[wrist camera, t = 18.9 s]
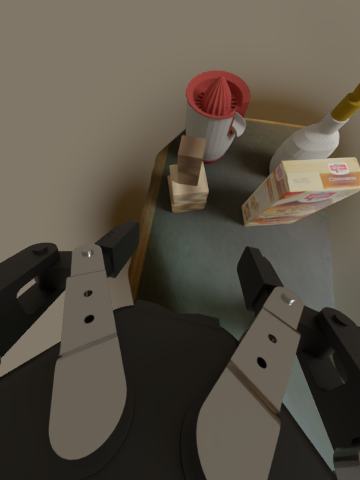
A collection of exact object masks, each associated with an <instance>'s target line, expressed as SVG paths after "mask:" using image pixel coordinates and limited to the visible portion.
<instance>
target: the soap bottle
mask: <svg viewBox="0 0 360 480" xmlns="http://www.w3.org/2000/svg"><path fill="white" fill-rule="evenodd" d="M359 108H360V84H359V85H358V86H357V87H356V89H355V90H354V92H353V93H349V94H348V95H347V96H346V97H345V98H344V99H343V100H342V101H341V102H340V103H339V104H338V105H337V106H336V107H335V108H334V109H332V110H331V111H330V112H329V113H328V114H327V115H326V116H325V118H324V119H323V120H322V121H321V122H320V123H317V124H313V125H310V126H307V127H305V128H302V129H300V130H298V131H296V132H295V133H293V134H292V135H291V136H290V137H289V138H288V139H286V140H285V141H284V143H283V144H282V145H281V146H280V147H279V148H278V149H277V151H276V152H275V154H274V156H273V157H272V159H271V162H270V166H269V173H270V174H271V173H272V172H273V171H274V169H275V168H276V167H277V166H278V165H279V164H280V163H281V161H289V160H310V159H326V158H327V157H328V156H329V155H330V154H331V153H332V152H333V151H334V150H335V148H336V147H337V146H338V143H339V132H338V129H339V128H340V127H342V126H343V125H344V124H345V123H346V122H347V121H348V120H349V117H350V116H351V115H353V113H355V111H357V110H358V109H359Z"/></svg>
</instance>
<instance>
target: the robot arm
mask: <svg viewBox="0 0 360 480" xmlns="http://www.w3.org/2000/svg"><path fill="white" fill-rule="evenodd" d="M138 244H139V223H138V222H134V221H127V222H126V223H125V224H124V225H120V226H117V227H115V228H113V229H112V230H111V231H110V232H108V233H107V234H106V235H105V236H103V237H102V238H101V239H100V240H98V241H97V242H96V243H95V244H85V245H82V246H79V247H77V248H75V249H74V250H73V251H58V248H57V246H56V245H55V244H53V243H40V244H35V245H32V246H29V247H27V248H26V249H24V250H22V251H20V252H19V253H17V254H15V255H14V256H12V257H10V258H8V259H7V260H5V261H3V262H1V263H0V363H1V358H2V356H4V355H5V353H6V352H7V351H8V350H9V349H10V348H11V347H12V346H13V345H14V344H15V343H16V342H17V341H18V340H19V339H20V337H21V336H22V335H23V334H24V333H25V332H26V331H27V330H28V329H29V328H30V327H31V326H32V324H34V322H35V321H36V320H37V319H38V318H39V317H40V316H41V315H42V314H43V313H44V312H45V311H46V310H47V308H48V307H49V306H50V305H51V304H52V303H53V302H54V301H55V300H56V299H57V298H58V297H59V296H60V295H61V293H62V292H63V291H64V290H65V289H66V292H65V303H64V314H63V325H62V337H61V341H60V342H59V343H57V344H55V345H54V346H52V347H50V348H49V349H47V350H45V351H44V352H42V353H40V354H39V355H37V356H35V357H34V358H32V359H30V360H29V361H27V362H25V363H23V364H22V365H20V366H18V367H17V368H15V369H13V370H12V371H10V372H8V373H7V374H5V375H3V376H2V377H0V480H360V327H359V326H357V325H356V324H355V323H354V322H353V321H352V320H351V319H350V318H348V317H347V316H346V315H344V314H343V313H341V312H339V311H337V310H335V309H333V308H328V307H326V308H323V309H322V310H321V311H320V312H317V311H315V310H313V309H311V308H309V307H306V306H304V304H303V302H302V300H301V299H300V297H299V296H298V295H297V294H295V293H294V292H293V291H291V290H289V289H287V288H284V286H283V284H282V282H281V281H280V279H279V277H278V275H277V274H276V272H275V270H274V269H273V267H272V265H271V263H270V262H269V261H268V260H267V259H266V258H265V257H263V256H262V254H261V252H260V251H259V249H257V248H253V247H248V246H247V247H246V248H245V250H244V252H243V254H242V256H241V258H240V260H239V262H238V265H237V272H238V276H239V280H240V284H241V288H242V292H243V296H244V300H245V304H246V308H247V310H250V311H254V312H255V314H256V315H255V316H254V317H253V319H252V320H251V322H250V323H249V325H248V326H247V328H246V329H245V331H244V332H243V334H242V336H241V337H240V339H239V340H237V339H236V338H235V337H234V336H233V335H232V334H230V333H229V332H228V331H227V330H225V329H224V328H222V327H220V325H219V319H218V318H214V317H210V316H206V315H201V314H176V313H174V312H172V311H170V310H168V309H166V308H164V307H162V306H161V305H159V304H156V303H152V302H148V301H144V300H139V299H138V300H137V302H136V304H135V305H131V306H125V307H121V308H118V309H115V310H113V309H112V303H111V298H110V292H109V286H108V281H107V278H108V277H113V278H116V276H117V275H118V274H119V272H120V271H121V269H122V268H123V267H124V265H125V264H126V263H127V261H128V260H129V258H130V257H131V256H132V254H133V253H134V251H135V250H136V249H137V247H138ZM33 278H34V279H35V281H36V283H35V284H34V285H33V286H31V287H30V288H29V289H28V290H27V291H25V292H24V293H23V294H22V295H21V296H19V297H18V298H16V297H17V293H18V291H19V290H20V289H21V288H22V287H23V286H24V285H26V284H27V283H28V282H29V281H31V280H32V279H33ZM295 354H296V355H297V358H298V360H299V363H300V365H301V368H302V370H303V373H304V375H305V378H306V381H307V383H308V386H309V388H310V391H311V393H312V396H313V398H314V401H315V404H316V406H317V409H318V411H319V414H320V416H321V419H322V421H323V424H324V427H325V429H326V432H327V434H328V437H329V439H330V442H331V444H332V447H333V450H334V454H333V463H334V468H335V470H333V471H331V469H330V468H329V466H328V465H327V464H326V462H325V461H324V459H323V458H322V457H321V455H320V454H319V452H318V451H317V450H316V448H315V447H314V445H313V444H312V443H311V441H310V440H309V438H308V437H307V436H306V434H305V433H304V431H303V430H302V429H301V427H300V426H299V425H298V423H297V422H296V420H295V419H294V418H293V416H292V415H291V413H290V412H289V411H288V409H287V408H286V406H285V405H284V404H283V402H282V400H283V397H284V393H285V390H286V386H287V383H288V379H289V376H290V372H291V368H292V365H293V361H294V358H295Z"/></svg>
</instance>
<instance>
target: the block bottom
mask: <svg viewBox="0 0 360 480" xmlns="http://www.w3.org/2000/svg"><path fill="white" fill-rule="evenodd" d="M168 185H169V192H170V199H171V206H172V213H178V212H185V211H193V210H200V209H204V208H205V205H206V202H207V201H203V202H194V203H186V204H178V205H174V199H173V192H172V185H171V177H170V175H169V176H168Z"/></svg>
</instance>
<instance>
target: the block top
mask: <svg viewBox="0 0 360 480" xmlns="http://www.w3.org/2000/svg"><path fill="white" fill-rule="evenodd" d="M169 166H170V177H171V185H172V192H173V199H174V205H178V204H186V203H194V202H203V201H206V198H207V196H208V193H209V189H208V184H207V179H206V174H205V169H204V164H203V162H202V165H201V170H200V175H199V180H198V186H192V185H186V184H180V183H178V164H176V165H169Z"/></svg>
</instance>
